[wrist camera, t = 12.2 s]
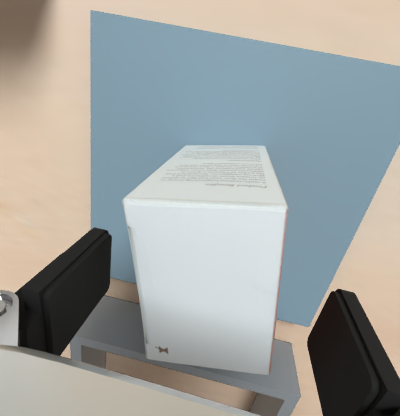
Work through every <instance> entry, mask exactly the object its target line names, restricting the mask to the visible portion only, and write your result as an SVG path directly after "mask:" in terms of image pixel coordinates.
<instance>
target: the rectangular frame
mask: <svg viewBox="0 0 400 416" xmlns="http://www.w3.org/2000/svg"><path fill="white" fill-rule="evenodd" d="M70 349H71V359H72V360H76V361H80V362H83V363H87V364H90V365H94V366H97V367H100V368H104V369H105V362H106V352H109V353H113V354H117V355H120V356H124V357H128V358H131V359H135V360H139V361H143V362H146V363H150V364H154V365H157V366H161V367H165V368H168V369H172V370H176V371H179V372H183V373H187V374H191V375H194V376H198V377H202V378H205V379H209V380H213V381H216V382H220V383H224V384H227V385H231V386H235V387H238V388H242V389H246V390H250V391H253V392H257V393H258V394H257V396H256V398H255V400H254V402H253V405H252V407H251V409H250V411H249V412H251V413H254V414H257V415H260V416H290V415H291V413H292V411H293V409H294V408H295V406H296V404H297V402H298V401H299V399H300V397H301V394H300V388H299V383H298V377H297V372H296V366H295V361H294V356H293V350H292V345H291V343H288V342H284V341H280V340H277V339H274V344H273V353H272V363H271V373H270V374H269V375H262V374H253V373H246V372H237V371H230V370H223V369H216V368H207V367H201V366H193V365H185V364H178V363H170V362H164V361H157V360H150V359H147V358H146V353H145V338H144V330H143V322H142V315H141V308H140V304H136V303H132V302H128V301H124V300H120V299H117V298H113V297H109V296H105V295H104V296H103V297H102V299H101V300H100V302H99V303H98V304H97V306H96V307H95V308H94V310H93V311H92V313H91V314H90V315H89V317H88V318H87V319H86V321H85V322H84V324H83V325H82V326H81V328H80V329H79V330H78V332H77V333H76V334H75V336H74V337H73V339H72V340H71V341H70Z"/></svg>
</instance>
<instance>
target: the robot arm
mask: <svg viewBox="0 0 400 416" xmlns="http://www.w3.org/2000/svg"><path fill="white" fill-rule="evenodd" d="M111 247H112V236H111V235H110V234H109V232H108V231H107V230H104V229H100V228H96V227H94V228H92V229H91V230H90V231H89V232H88V233H86V234H85V235H84V236H83V237H82V238H81V239H79V240H78V241H77V242H76V243H75V244H73V245H72V246H71V247H70V248H69V249H68V250H66V251H65V252H64V253H62V254H61V255H59V256H58V257H57V258H56V259H55V260H53V261H52V262H51V263H50V264H49V265H48V266H46V267H45V268H44V269H43V270H42V271H40V272H39V273H38V274H37V275H36V276H34V277H33V278H32V279H31V280H30V281H29V282H27V283H26V284H25V285H24V286H23V287H21V288H20V289H19V290H18V291H17V292H15V293H13V292H10V291H5V290H0V416H260V415H257V414H254V413H251V412H247V411H244V410H241V409H238V408H234V407H231V406H228V405H224V404H221V403H218V402H215V401H211V400H208V399H205V398H201V397H198V396H195V395H191V394H188V393H185V392H181V391H178V390H175V389H171V388H168V387H165V386H161V385H158V384H155V383H151V382H148V381H145V380H141V379H138V378H134V377H131V376H128V375H124V374H121V373H117V372H114V371H111V370H107V369H104V368H100V367H97V366H94V365H90V364H87V363H83V362H80V361H76V360H72V359H69V358H65V357H61V356H60V355H61V354H62V352H63V351H64V350H65V348H66V347H67V345H68V344H69V343H70V341H71V340H72V339H73V337H74V336H75V334H76V333H77V332H78V330H79V329H80V328H81V326H82V325H83V324H84V322H85V321H86V319H87V318H88V317H89V315H90V314H91V313H92V311H93V310H94V308H95V307H96V306H97V304H98V303H99V302H100V300H101V299H102V297H103V296H104V295H105V293H106V292H107V290H108V288H109V285H110V270H111ZM307 346H308V351H309V355H310V360H311V364H312V368H313V373H314V377H315V382H316V386H317V391H318V395H319V399H320V404H321V408H322V413H323V416H400V379H399V377H398V375H397V373H396V371H395V369H394V367H393V365H392V363H391V361H390V360H389V358H388V356H387V354H386V352H385V350H384V348H383V346H382V344H381V342H380V340H379V339H378V337H377V335H376V333H375V331H374V329H373V327H372V325H371V323H370V321H369V319H368V318H367V316H366V314H365V312H364V310H363V308H362V306H361V304H360V302H359V300H358V298H357V297H356V295H355V293H353V292H349V291H345V290H341V289H337V290H336V291H335V292H334V291H332V292H331V293H330V295H329V297H328V299H327V301H326V303H325V305H324V307H323V309H322V311H321V313H320V315H319V317H318V319H317V321H316V323H315V325H314V327H313V329H312V331H311V333H310V335H309V337H308V341H307Z"/></svg>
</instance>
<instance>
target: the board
mask: <svg viewBox="0 0 400 416" xmlns="http://www.w3.org/2000/svg"><path fill="white" fill-rule="evenodd" d="M399 144H400V66H395V65H390V64H384V63H379V62H373V61H368V60H362V59H357V58H351V57H346V56H340V55H335V54H329V53H324V52H318V51H313V50H307V49H302V48H296V47H291V46H285V45H280V44H274V43H269V42H263V41H258V40H252V39H247V38H241V37H236V36H230V35H225V34H219V33H214V32H208V31H203V30H197V29H192V28H186V27H181V26H175V25H170V24H164V23H159V22H153V21H148V20H142V19H137V18H131V17H126V16H120V15H115V14H109V13H104V12H98V11H93V10H91V229H92V228H94V227H96V228H100V229H104V230H107V231H108V232H109V234H110V235H111V236H112V247H111V270H110V277H111V278H115V279H119V280H123V281H127V282H131V283H135V284H137V282H136V275H135V269H134V263H133V257H132V250H131V244H130V239H129V233H128V228H127V224H126V219H125V214H124V210H123V205H122V200H123V199H124V198H125V197H126V196H127V195H128V194H129V193H130V192H132V191H133V190H134V189H135V188H136V187H138V186H139V185H140V184H141V183H142V182H143V181H144V180H146V179H147V178H148V177H149V176H150V175H151V174H153V173H154V172H155V171H156V170H157V169H159V168H160V167H161V166H162V165H163V164H164V163H165V162H167V161H168V160H169V159H170V158H171V157H173V156H174V155H175V154H176V153H177V152H179V151H180V150H181V149H182V148H183V147H184V146H186V145H258V146H265V147H266V150H267V153H268V155H269V158H270V160H271V163H272V166H273V169H274V171H275V174H276V176H277V178H278V181H279V184H280V187H281V189H282V192H283V194H284V197H285V200H286V202H287V205H288V208H289V209H288V215H287V223H286V234H285V244H284V252H283V261H282V270H281V280H280V289H279V298H278V307H277V317H276V319H278V320H282V321H286V322H290V323H294V324H298V325H302V326H306V327H309V326H310V323H311V321H312V319H313V317H314V315H315V313H316V311H317V309H318V307H319V305H320V303H321V301H322V299H323V297H324V295H325V293H326V291H327V289H328V287H329V285H330V283H331V281H332V279H333V277H334V275H335V273H336V271H337V269H338V267H339V265H340V263H341V261H342V259H343V257H344V255H345V253H346V251H347V249H348V247H349V245H350V243H351V241H352V239H353V237H354V235H355V233H356V231H357V229H358V227H359V225H360V223H361V221H362V219H363V217H364V215H365V213H366V211H367V209H368V207H369V205H370V203H371V201H372V199H373V197H374V195H375V193H376V191H377V189H378V187H379V185H380V183H381V181H382V179H383V177H384V175H385V172H386V170H387V168H388V166H389V164H390V162H391V160H392V158H393V156H394V154H395V152H396V150H397V148H398V146H399Z"/></svg>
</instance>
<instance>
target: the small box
mask: <svg viewBox="0 0 400 416" xmlns="http://www.w3.org/2000/svg"><path fill="white" fill-rule="evenodd" d="M122 205H123V210H124V214H125V219H126V224H127V228H128V233H129V239H130V244H131V250H132V257H133V263H134V269H135V275H136V282H137V288H138V295H139V301H140V308H141V315H142V322H143V330H144V338H145V353H146V358H147V359H150V360H157V361H164V362H170V363H178V364H185V365H193V366H201V367H207V368H216V369H223V370H230V371H237V372H246V373H253V374H262V375H269V374H270V373H271V363H272V353H273V344H274V335H275V326H276V317H277V307H278V298H279V289H280V280H281V270H282V261H283V252H284V244H285V234H286V223H287V215H288V209H289V208H288V205H287V202H286V200H285V197H284V194H283V192H282V189H281V187H280V184H279V181H278V178H277V176H276V174H275V171H274V169H273V166H272V163H271V160H270V158H269V155H268V153H267V150H266V147H265V146H258V145H186V146H184V147H183V148H182V149H181V150H180V151H179V152H177V153H176V154H175V155H174V156H173V157H171V158H170V159H169V160H168V161H167V162H165V163H164V164H163V165H162V166H161V167H160V168H159V169H157V170H156V171H155V172H154V173H153V174H151V175H150V176H149V177H148V178H147V179H146V180H144V181H143V182H142V183H141V184H140V185H139V186H138V187H136V188H135V189H134V190H133V191H132V192H130V193H129V194H128V195H127V196H126V197H125V198H124V199H123V200H122Z"/></svg>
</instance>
